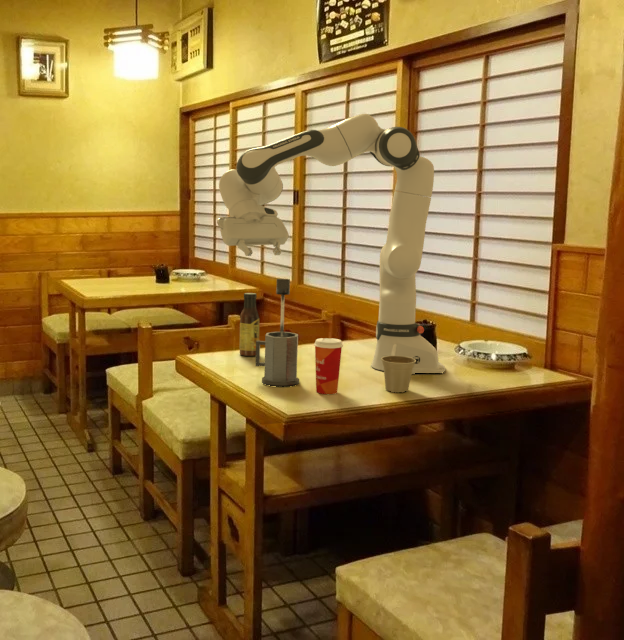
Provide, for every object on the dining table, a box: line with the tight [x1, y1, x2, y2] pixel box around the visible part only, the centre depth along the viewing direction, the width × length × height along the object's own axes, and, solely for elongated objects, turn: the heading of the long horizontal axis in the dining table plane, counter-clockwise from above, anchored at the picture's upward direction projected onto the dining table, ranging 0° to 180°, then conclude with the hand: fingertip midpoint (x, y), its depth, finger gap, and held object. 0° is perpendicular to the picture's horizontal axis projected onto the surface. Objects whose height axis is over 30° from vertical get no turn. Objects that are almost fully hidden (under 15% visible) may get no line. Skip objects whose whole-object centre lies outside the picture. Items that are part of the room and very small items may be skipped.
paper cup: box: [313, 337, 344, 395], centre depth 209 cm, size 8×8×14 cm
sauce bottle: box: [238, 292, 260, 357], centre depth 252 cm, size 7×6×20 cm
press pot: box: [255, 331, 300, 388], centre depth 217 cm, size 12×10×14 cm
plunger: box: [275, 278, 291, 337], centre depth 215 cm, size 6×6×18 cm
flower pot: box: [381, 356, 416, 393], centre depth 214 cm, size 9×9×9 cm
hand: (264, 254), depth 221 cm, fingers open, 8 cm apart
